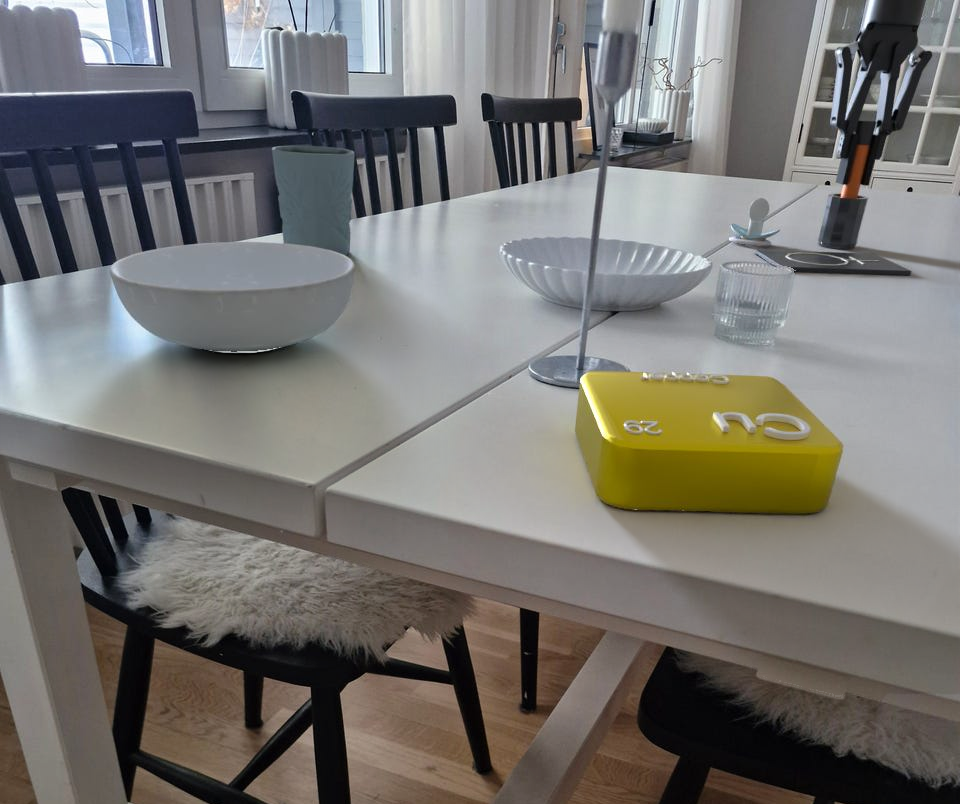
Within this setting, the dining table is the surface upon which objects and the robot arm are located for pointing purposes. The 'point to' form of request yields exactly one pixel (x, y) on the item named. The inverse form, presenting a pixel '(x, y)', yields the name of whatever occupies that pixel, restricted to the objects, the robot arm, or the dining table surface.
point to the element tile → (703, 443)
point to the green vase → (315, 195)
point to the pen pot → (842, 221)
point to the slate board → (833, 262)
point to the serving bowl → (235, 293)
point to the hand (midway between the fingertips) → (852, 183)
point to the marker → (859, 158)
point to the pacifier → (754, 226)
